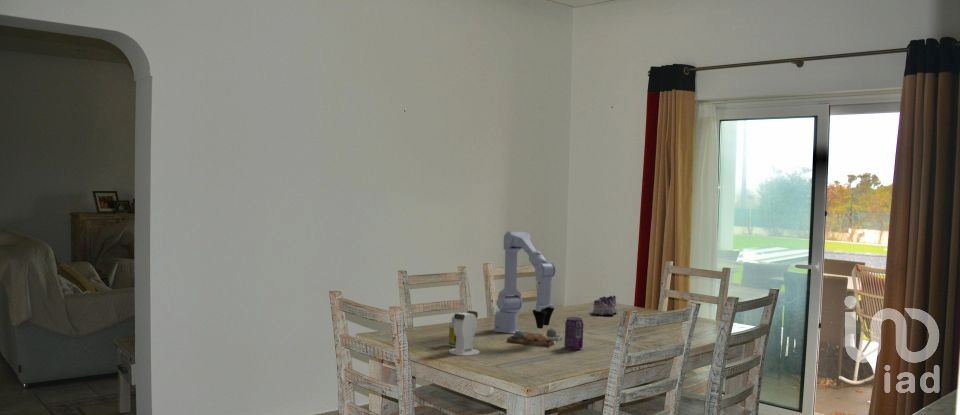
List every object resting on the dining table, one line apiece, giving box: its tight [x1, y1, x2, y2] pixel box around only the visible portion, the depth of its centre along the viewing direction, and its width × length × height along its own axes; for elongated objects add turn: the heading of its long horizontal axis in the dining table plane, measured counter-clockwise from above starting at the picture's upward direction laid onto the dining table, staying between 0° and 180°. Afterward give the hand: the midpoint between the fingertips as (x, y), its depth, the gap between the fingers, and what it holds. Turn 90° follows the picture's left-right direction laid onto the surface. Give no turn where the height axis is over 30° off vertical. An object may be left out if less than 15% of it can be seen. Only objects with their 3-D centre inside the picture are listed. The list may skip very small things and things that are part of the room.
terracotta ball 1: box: [526, 331, 536, 341], centre depth 307 cm, size 4×4×4 cm
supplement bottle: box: [448, 315, 456, 348], centre depth 297 cm, size 6×6×11 cm
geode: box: [592, 294, 618, 316], centre depth 385 cm, size 20×12×10 cm, turn 159°
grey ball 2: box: [546, 327, 557, 337], centre depth 316 cm, size 4×4×4 cm
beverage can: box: [564, 316, 584, 351], centre depth 300 cm, size 7×7×12 cm
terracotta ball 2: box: [537, 332, 547, 343], centre depth 305 cm, size 4×4×4 cm
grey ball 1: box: [513, 330, 524, 340], centre depth 309 cm, size 4×4×4 cm
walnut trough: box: [506, 335, 555, 348], centre depth 307 cm, size 18×6×2 cm, turn 67°
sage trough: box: [521, 330, 564, 344], centre depth 316 cm, size 18×11×2 cm, turn 67°
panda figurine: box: [449, 310, 480, 357], centre depth 287 cm, size 12×11×15 cm
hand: (542, 326), depth 305 cm, fingers open, 7 cm apart
